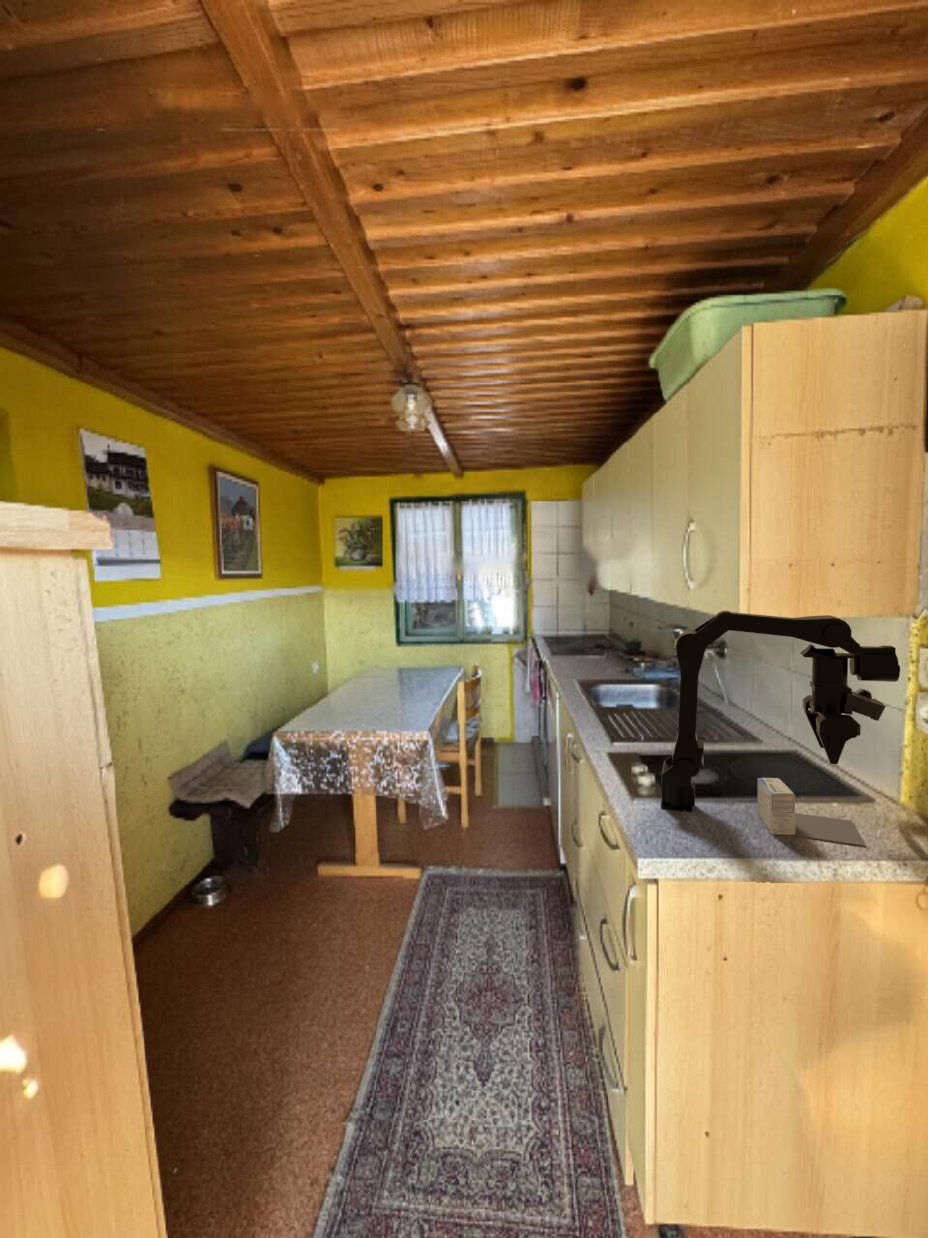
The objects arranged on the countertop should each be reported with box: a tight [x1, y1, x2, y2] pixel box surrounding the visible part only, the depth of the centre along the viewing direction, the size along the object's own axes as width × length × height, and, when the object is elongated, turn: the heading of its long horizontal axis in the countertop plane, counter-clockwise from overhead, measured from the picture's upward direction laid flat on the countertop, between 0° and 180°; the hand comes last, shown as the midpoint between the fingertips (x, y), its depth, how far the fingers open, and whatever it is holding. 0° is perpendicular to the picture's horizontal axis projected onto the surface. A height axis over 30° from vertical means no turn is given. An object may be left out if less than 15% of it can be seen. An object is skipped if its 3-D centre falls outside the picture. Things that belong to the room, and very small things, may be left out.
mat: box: [795, 812, 867, 848], centre depth 101 cm, size 11×10×1 cm
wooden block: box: [757, 777, 796, 836], centre depth 103 cm, size 8×4×9 cm, turn 168°
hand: (828, 755), depth 101 cm, fingers open, 9 cm apart
